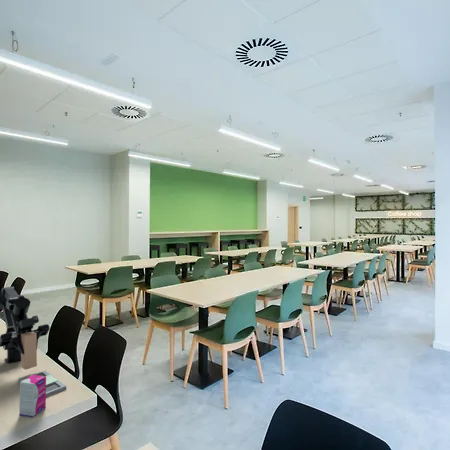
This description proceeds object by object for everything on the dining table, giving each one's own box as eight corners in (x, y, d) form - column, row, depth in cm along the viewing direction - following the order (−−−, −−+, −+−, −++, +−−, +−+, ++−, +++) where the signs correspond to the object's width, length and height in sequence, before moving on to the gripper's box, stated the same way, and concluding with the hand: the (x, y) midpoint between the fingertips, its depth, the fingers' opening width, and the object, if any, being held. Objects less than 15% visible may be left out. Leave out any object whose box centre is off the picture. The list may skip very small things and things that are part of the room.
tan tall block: (21, 366, 136) (20, 334, 136) (32, 363, 139) (32, 331, 139) (25, 369, 133) (24, 336, 133) (36, 366, 137) (36, 333, 136)
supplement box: (33, 418, 106) (33, 384, 106) (18, 415, 107) (18, 382, 107) (46, 408, 112) (46, 375, 112) (32, 406, 113) (32, 374, 113)
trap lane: (19, 382, 130) (19, 378, 130) (45, 373, 138) (45, 369, 138) (38, 399, 117) (38, 396, 117) (66, 388, 124) (66, 385, 124)
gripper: (-1, 315, 131) (8, 348, 124) (48, 306, 146) (58, 335, 139) (-6, 330, 137) (2, 363, 130) (41, 320, 151) (51, 349, 144)
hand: (30, 351), depth 135 cm, fingers closed on tan tall block, 4 cm apart
